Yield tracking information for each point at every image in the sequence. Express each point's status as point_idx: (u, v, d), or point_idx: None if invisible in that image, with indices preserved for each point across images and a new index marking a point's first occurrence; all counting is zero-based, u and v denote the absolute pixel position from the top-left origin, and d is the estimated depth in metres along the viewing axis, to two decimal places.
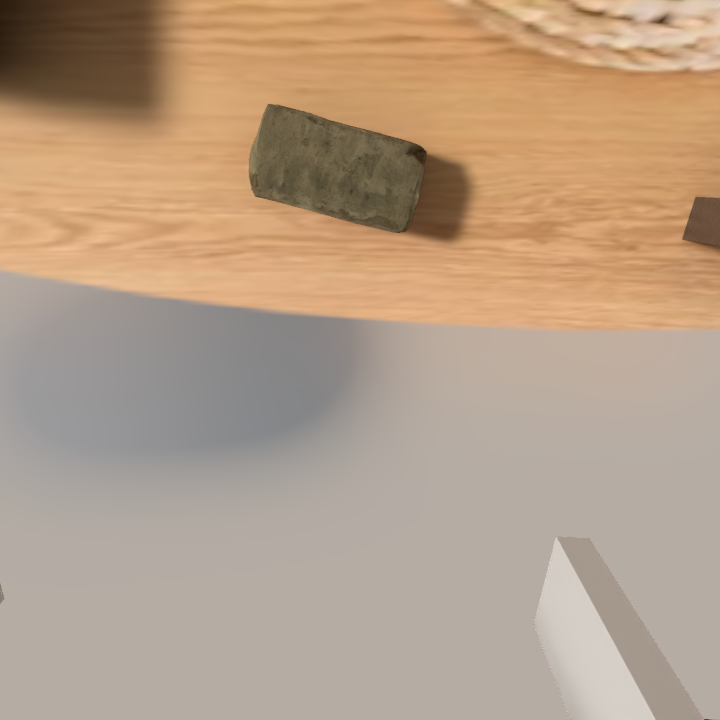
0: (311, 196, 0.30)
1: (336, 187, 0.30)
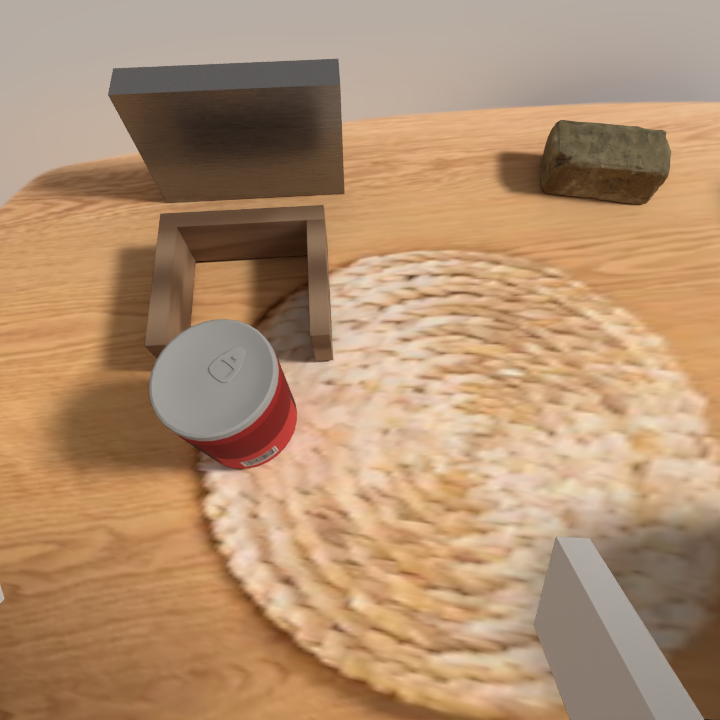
0: (627, 129, 0.45)
1: (612, 135, 0.45)
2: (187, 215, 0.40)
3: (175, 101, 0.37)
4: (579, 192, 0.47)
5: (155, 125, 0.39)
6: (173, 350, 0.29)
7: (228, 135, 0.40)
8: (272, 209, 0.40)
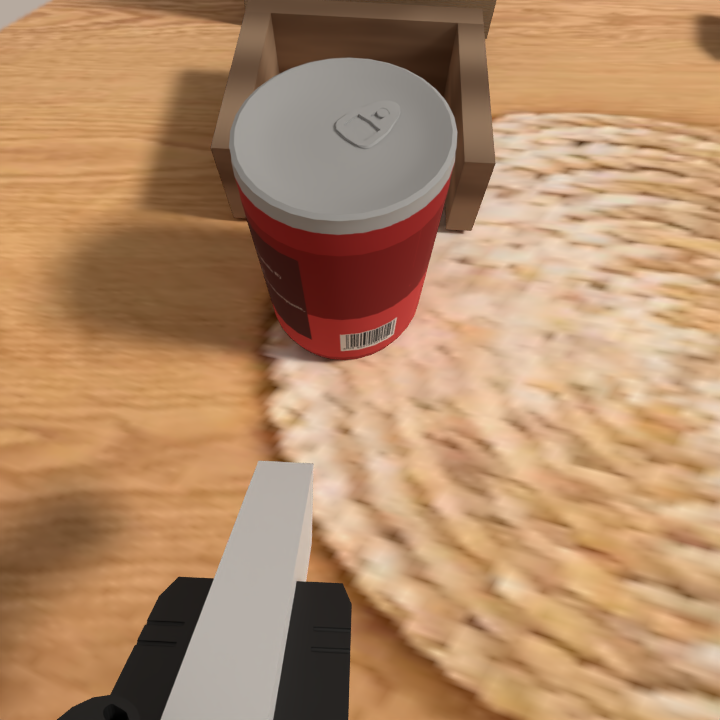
0: None
1: None
2: (287, 1, 0.28)
3: None
4: None
5: None
6: (275, 91, 0.17)
7: None
8: (408, 6, 0.28)
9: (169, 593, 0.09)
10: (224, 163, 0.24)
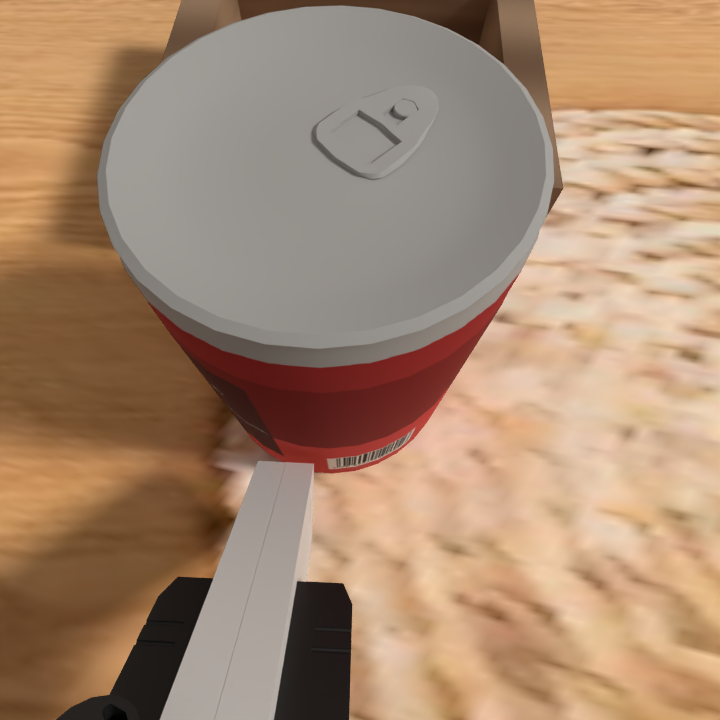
0: None
1: None
2: None
3: None
4: None
5: None
6: (202, 64, 0.09)
7: None
8: None
9: (169, 594, 0.09)
10: None
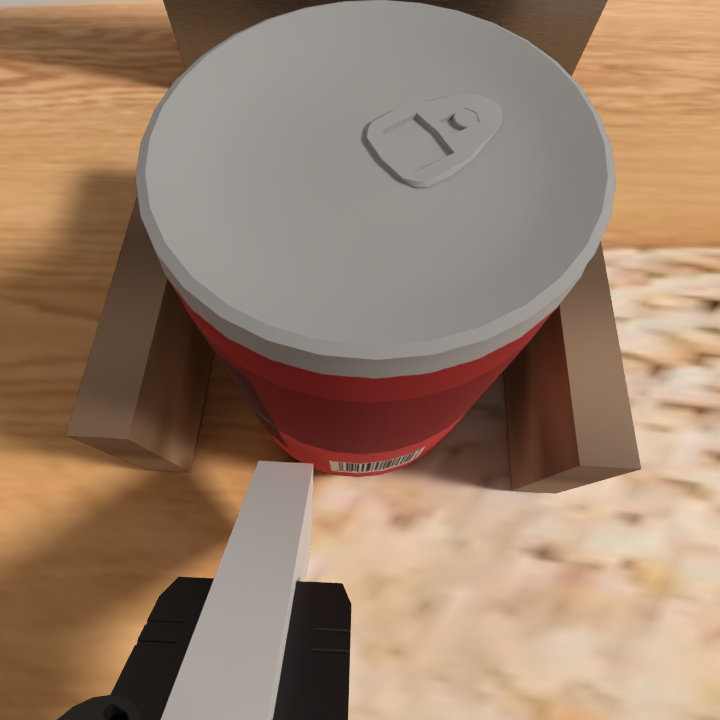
0: None
1: None
2: None
3: None
4: None
5: None
6: (267, 45, 0.09)
7: None
8: None
9: (170, 593, 0.09)
10: (103, 445, 0.12)
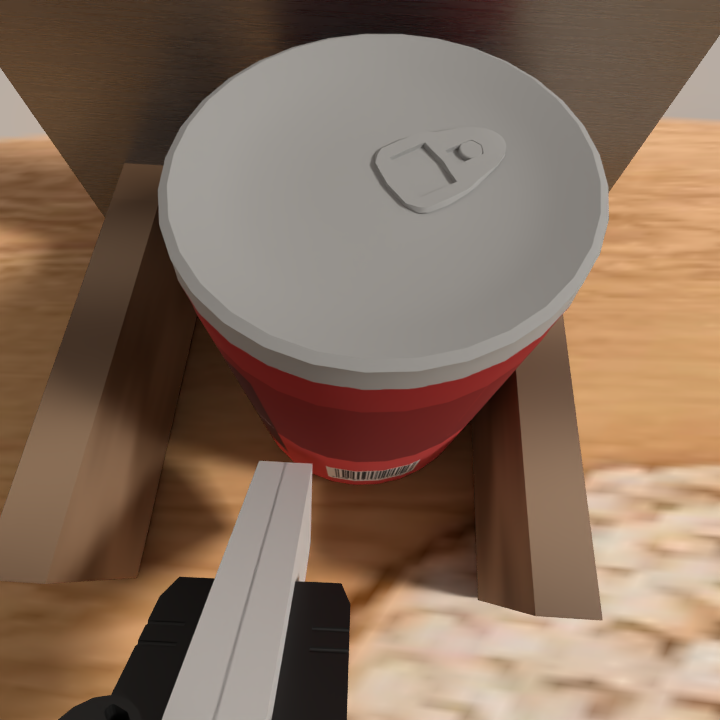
0: None
1: None
2: None
3: None
4: None
5: (78, 50, 0.12)
6: (289, 72, 0.09)
7: None
8: None
9: (170, 593, 0.09)
10: None
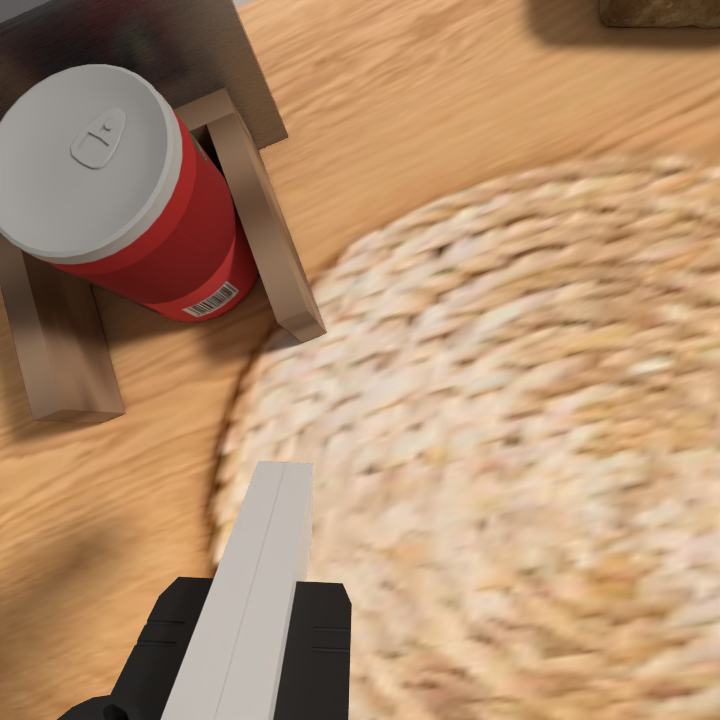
0: None
1: None
2: None
3: None
4: (669, 17, 0.26)
5: None
6: (12, 127, 0.18)
7: None
8: None
9: (170, 593, 0.09)
10: (56, 417, 0.23)
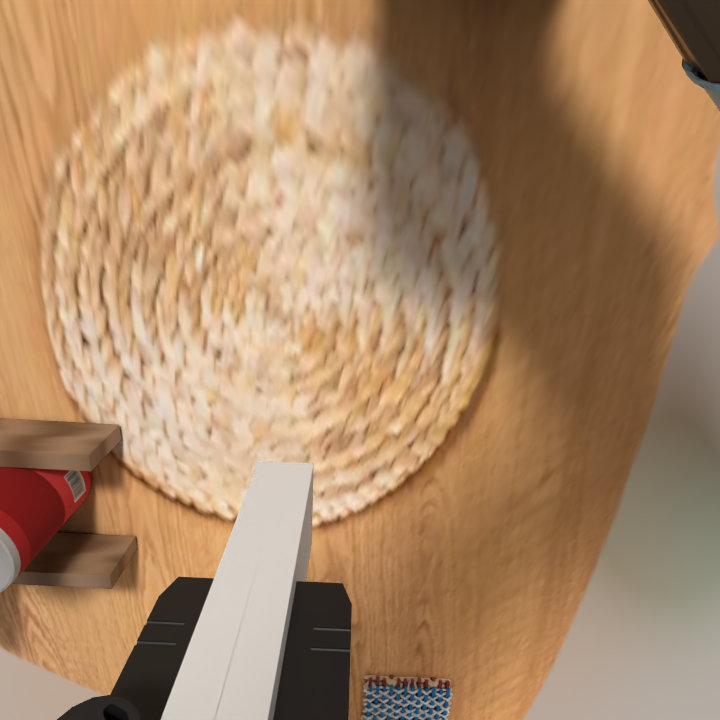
0: None
1: None
2: None
3: None
4: None
5: None
6: None
7: None
8: None
9: (169, 593, 0.09)
10: (116, 576, 0.43)
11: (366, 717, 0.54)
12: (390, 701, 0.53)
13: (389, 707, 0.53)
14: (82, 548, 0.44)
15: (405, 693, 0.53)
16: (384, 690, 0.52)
